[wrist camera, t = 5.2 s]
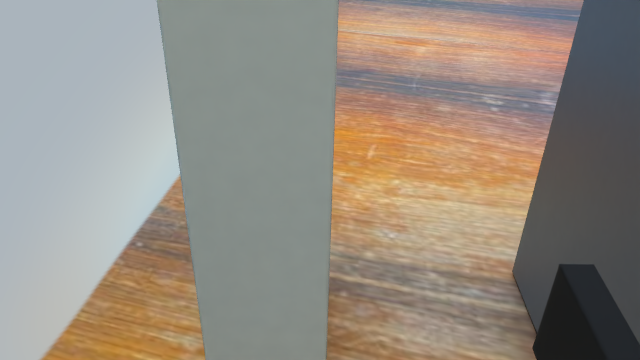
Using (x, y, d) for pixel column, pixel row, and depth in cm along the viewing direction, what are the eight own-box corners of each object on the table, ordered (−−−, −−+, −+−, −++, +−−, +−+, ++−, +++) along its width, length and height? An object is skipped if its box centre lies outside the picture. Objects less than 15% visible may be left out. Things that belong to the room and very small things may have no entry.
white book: (225, 508, 19) (154, -7, 10) (255, 269, 28) (233, -109, 19) (321, 509, 19) (339, -4, 10) (319, 269, 28) (328, -108, 19)
